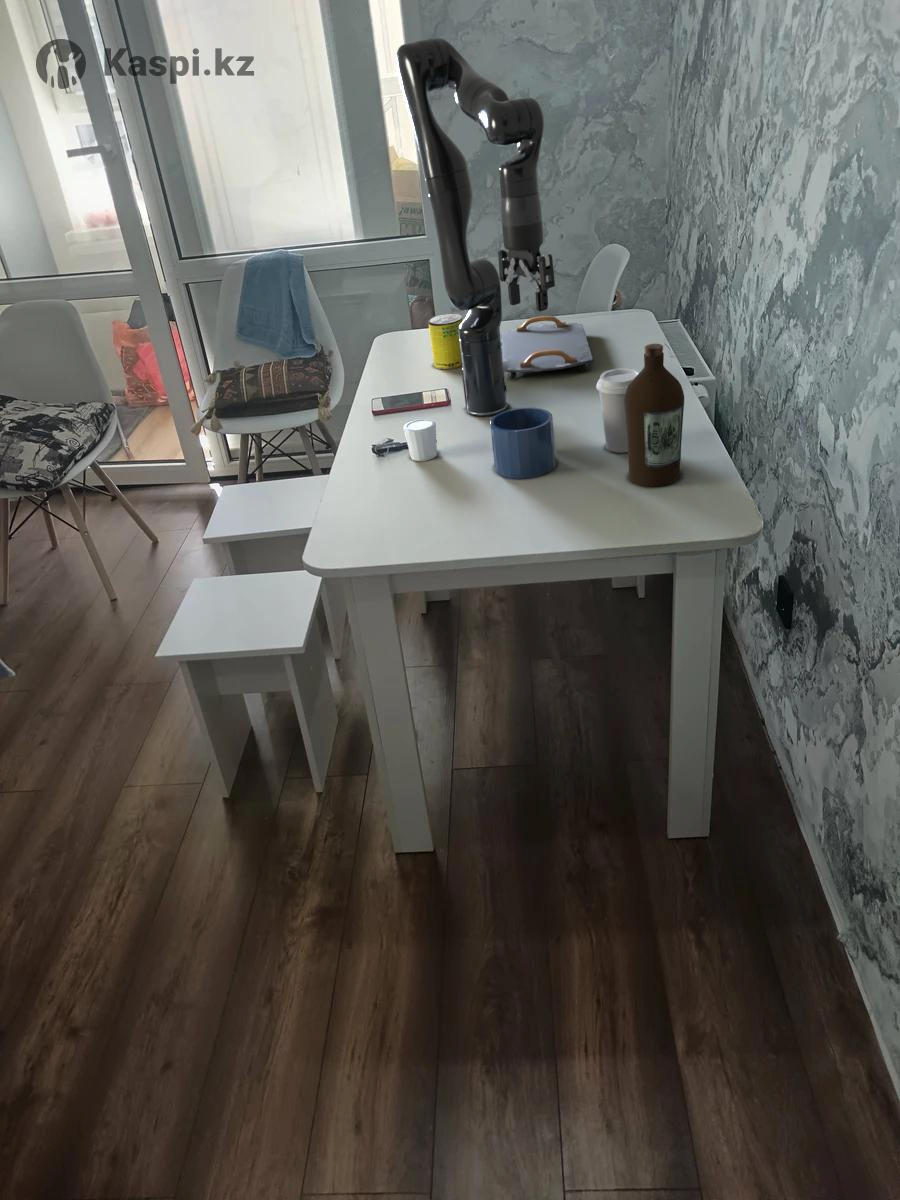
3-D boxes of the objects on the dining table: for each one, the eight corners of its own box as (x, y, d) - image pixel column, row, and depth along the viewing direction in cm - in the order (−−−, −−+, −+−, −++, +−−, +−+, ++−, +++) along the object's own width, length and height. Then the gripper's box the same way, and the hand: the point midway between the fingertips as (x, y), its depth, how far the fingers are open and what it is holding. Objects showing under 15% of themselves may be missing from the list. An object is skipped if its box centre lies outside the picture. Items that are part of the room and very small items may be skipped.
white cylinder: (416, 465, 191) (411, 433, 187) (402, 455, 196) (397, 424, 192) (445, 455, 193) (441, 424, 189) (431, 446, 198) (426, 415, 195)
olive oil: (617, 471, 176) (613, 344, 163) (668, 460, 178) (669, 333, 164) (639, 493, 167) (637, 360, 154) (693, 481, 169) (695, 348, 155)
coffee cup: (649, 437, 188) (648, 366, 180) (642, 456, 181) (641, 383, 173) (603, 436, 191) (600, 367, 183) (594, 455, 184) (591, 383, 176)
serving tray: (596, 374, 224) (595, 350, 220) (502, 385, 226) (499, 360, 223) (582, 330, 256) (581, 307, 253) (500, 339, 259) (498, 317, 255)
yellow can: (473, 359, 246) (468, 314, 240) (455, 370, 240) (450, 324, 234) (445, 357, 251) (439, 313, 245) (427, 367, 245) (421, 323, 239)
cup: (483, 467, 186) (477, 421, 180) (529, 448, 191) (526, 402, 186) (519, 484, 177) (515, 436, 171) (568, 464, 182) (565, 416, 177)
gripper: (561, 218, 167) (566, 307, 175) (514, 213, 177) (521, 297, 186) (529, 227, 164) (536, 317, 172) (483, 221, 174) (491, 306, 183)
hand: (528, 307), depth 179 cm, fingers open, 8 cm apart
